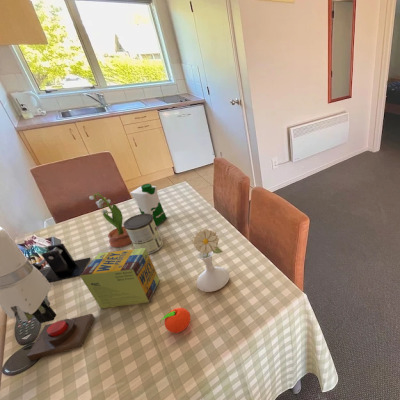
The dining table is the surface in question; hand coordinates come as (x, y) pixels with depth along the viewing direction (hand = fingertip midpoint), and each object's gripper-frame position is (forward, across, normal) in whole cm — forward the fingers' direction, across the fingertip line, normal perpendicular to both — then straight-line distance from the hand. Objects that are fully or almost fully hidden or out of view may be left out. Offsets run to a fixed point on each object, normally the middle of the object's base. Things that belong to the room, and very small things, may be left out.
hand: (48, 319), depth 75 cm
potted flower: (+9, -46, +4) cm, 47 cm away
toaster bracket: (+9, -32, -10) cm, 35 cm away
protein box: (+9, -12, +16) cm, 21 cm away
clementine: (+8, +8, +32) cm, 35 cm away
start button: (+5, 0, 0) cm, 5 cm away
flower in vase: (+8, -7, +44) cm, 45 cm away
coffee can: (+9, -38, +16) cm, 42 cm away
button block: (+9, 0, 0) cm, 9 cm away
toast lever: (+3, -32, -14) cm, 35 cm away
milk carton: (+9, -59, +16) cm, 61 cm away
